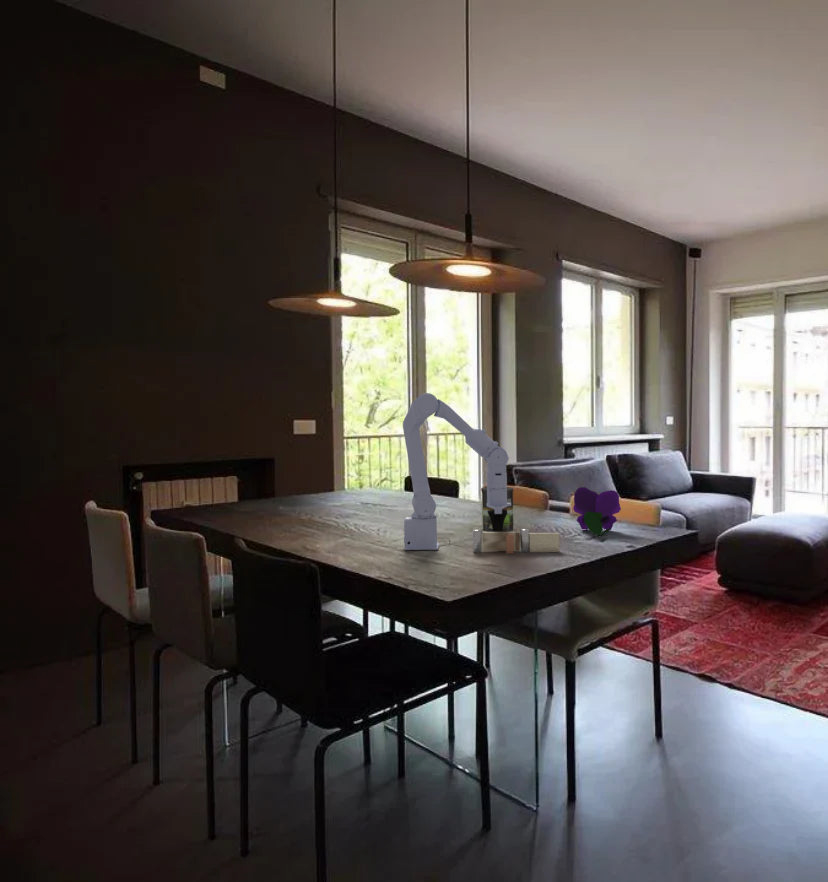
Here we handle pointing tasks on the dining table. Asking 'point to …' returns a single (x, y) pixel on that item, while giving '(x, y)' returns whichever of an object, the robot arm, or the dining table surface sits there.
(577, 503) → the flower
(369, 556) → the dining table surface
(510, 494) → the coffee can
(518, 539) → the gate leaf
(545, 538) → the gate frame
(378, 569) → the dining table surface
